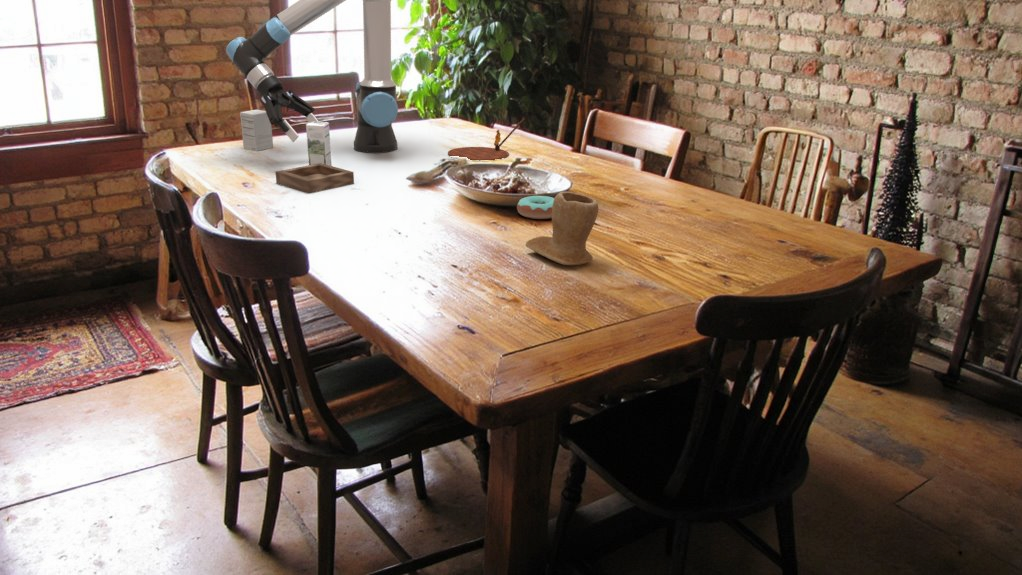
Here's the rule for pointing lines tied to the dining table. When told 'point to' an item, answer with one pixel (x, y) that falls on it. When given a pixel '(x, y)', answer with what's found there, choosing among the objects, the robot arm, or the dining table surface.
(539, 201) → the donut
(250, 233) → the dining table surface
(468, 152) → the incense holder
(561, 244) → the brown hollow piece
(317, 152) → the syrup box
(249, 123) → the supplement box
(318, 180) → the walnut tray
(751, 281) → the dining table surface
